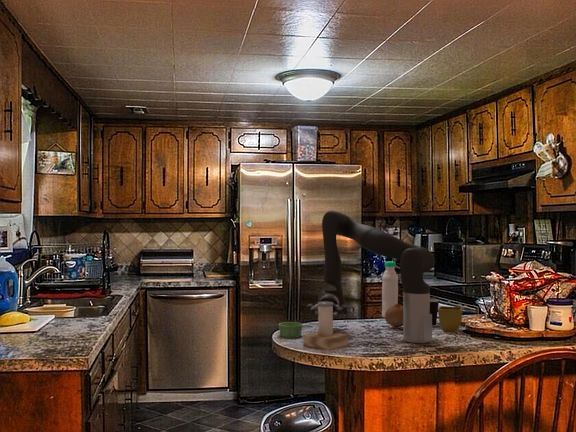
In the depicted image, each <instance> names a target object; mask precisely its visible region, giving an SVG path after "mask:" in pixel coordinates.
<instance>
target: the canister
mask: <svg viewBox="0 0 576 432" xmlns="http://www.w3.org/2000/svg"><path fill="white" fill-rule="evenodd" d="M317 304H318V314H317V316H318V318H317V320H318V321H317V324H318V326H317V327H318V329H317V330H318V331H317V332H318V335H320V336H331V335H333V332H334V316H333V302H318V301H317Z"/></svg>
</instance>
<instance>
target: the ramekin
mask: <svg viewBox="0 0 576 432" xmlns="http://www.w3.org/2000/svg"><path fill="white" fill-rule="evenodd" d="M303 326H304V325H303V323H301V322H295V321H284V322H280V323H278V327H279V328H278V330H279V336H280V337H282V338H286V337H287V339H288V338H289V339H292V338H300V337H301V336H302V330H303V329H302V328H303Z"/></svg>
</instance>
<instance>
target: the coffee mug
mask: <svg viewBox="0 0 576 432" xmlns="http://www.w3.org/2000/svg"><path fill="white" fill-rule="evenodd" d="M439 303H440V300H438V299H434V298H430V314H432V327H434V326H436V325H437V322H438V308H439Z"/></svg>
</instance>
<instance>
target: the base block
mask: <svg viewBox="0 0 576 432" xmlns="http://www.w3.org/2000/svg"><path fill="white" fill-rule="evenodd" d="M302 344H303V346H306V347H312V348H316V349H322V350H327V351H330V350H333V349H338V348H342V347H345V346H349V334H346V333H341V332H335V331H333V335H331V336H320V335H318V331H315V332H310V333H306V334H303V338H302Z"/></svg>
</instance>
